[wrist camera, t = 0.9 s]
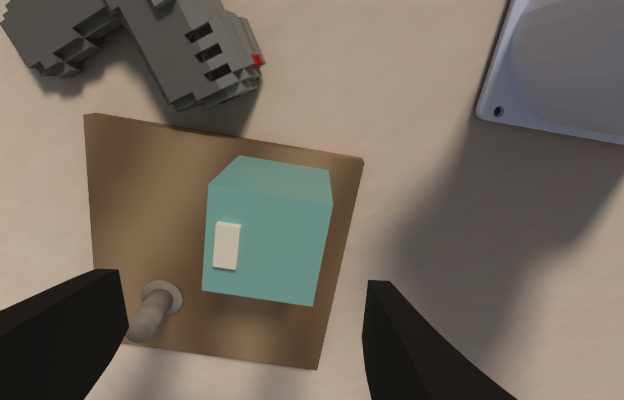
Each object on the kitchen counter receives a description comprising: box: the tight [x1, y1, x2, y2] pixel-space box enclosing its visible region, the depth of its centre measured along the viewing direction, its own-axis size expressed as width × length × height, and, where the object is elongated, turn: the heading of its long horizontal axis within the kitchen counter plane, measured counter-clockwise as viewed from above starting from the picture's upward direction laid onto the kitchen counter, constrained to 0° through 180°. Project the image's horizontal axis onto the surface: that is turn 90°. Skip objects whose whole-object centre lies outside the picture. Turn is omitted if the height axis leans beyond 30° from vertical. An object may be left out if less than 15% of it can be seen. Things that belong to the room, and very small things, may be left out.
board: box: [83, 113, 364, 370], centre depth 18 cm, size 14×14×4 cm
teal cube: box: [202, 155, 333, 307], centre depth 15 cm, size 5×5×5 cm
